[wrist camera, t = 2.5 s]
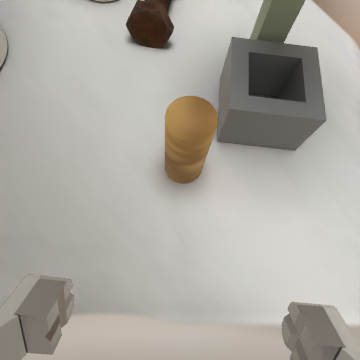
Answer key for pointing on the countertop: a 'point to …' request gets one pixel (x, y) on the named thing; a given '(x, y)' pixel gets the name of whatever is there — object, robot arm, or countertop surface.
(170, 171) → the peg
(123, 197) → the countertop surface
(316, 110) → the socket
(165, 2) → the bolt
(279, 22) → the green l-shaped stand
